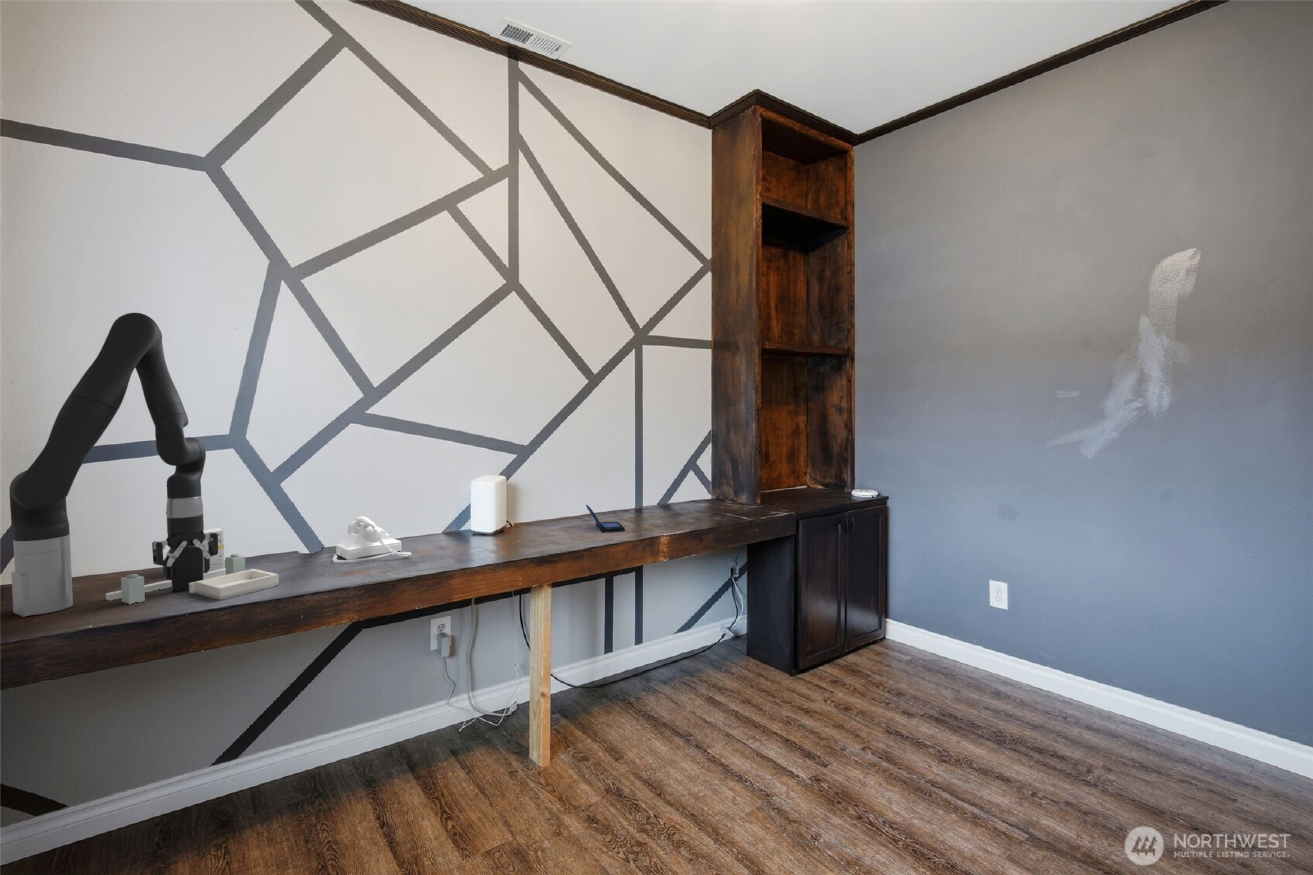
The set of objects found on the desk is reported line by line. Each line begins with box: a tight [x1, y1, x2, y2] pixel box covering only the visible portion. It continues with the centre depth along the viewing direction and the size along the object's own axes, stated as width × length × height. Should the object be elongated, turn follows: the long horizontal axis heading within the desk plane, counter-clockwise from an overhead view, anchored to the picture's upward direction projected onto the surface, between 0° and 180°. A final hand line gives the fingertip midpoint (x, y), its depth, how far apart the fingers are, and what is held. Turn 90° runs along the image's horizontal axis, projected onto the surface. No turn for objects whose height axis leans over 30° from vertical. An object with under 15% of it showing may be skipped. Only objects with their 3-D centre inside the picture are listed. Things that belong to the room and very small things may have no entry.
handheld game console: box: [585, 504, 626, 533], centre depth 235 cm, size 16×13×9 cm
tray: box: [194, 568, 280, 601], centre depth 156 cm, size 14×12×3 cm
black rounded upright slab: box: [171, 546, 204, 593], centre depth 156 cm, size 7×4×11 cm, turn 125°
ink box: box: [202, 527, 226, 572], centre depth 174 cm, size 8×5×12 cm, turn 138°
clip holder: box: [105, 553, 246, 605], centre depth 157 cm, size 28×13×7 cm, turn 152°
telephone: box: [332, 516, 412, 564], centre depth 192 cm, size 25×21×12 cm
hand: (187, 576), depth 156 cm, fingers closed on black rounded upright slab, 7 cm apart
